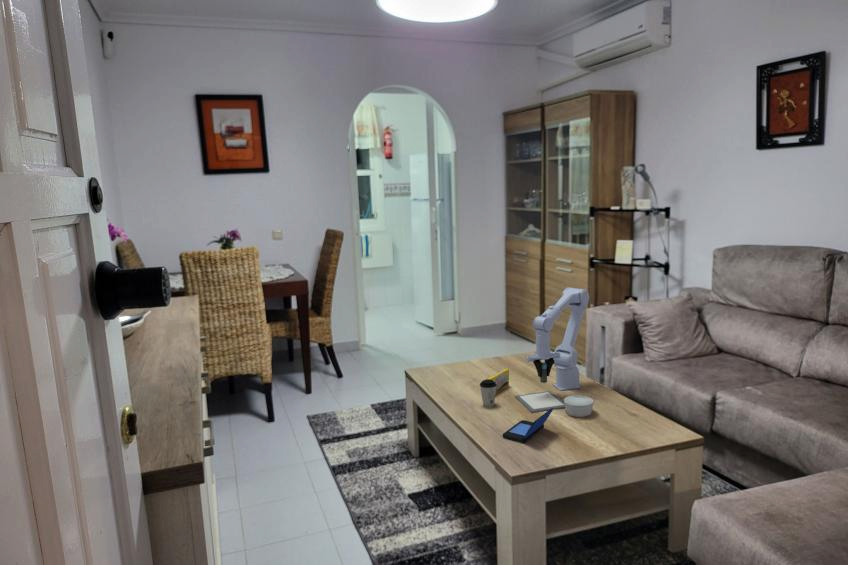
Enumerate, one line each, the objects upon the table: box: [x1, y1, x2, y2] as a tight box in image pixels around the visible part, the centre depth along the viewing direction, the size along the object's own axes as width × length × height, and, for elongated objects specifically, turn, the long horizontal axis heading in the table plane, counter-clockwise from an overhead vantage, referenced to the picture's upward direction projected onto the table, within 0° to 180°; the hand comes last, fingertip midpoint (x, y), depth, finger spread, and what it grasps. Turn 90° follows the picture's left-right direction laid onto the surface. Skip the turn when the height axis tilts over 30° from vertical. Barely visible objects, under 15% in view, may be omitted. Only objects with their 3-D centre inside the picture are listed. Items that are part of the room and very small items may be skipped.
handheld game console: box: [502, 408, 554, 444], centre depth 207 cm, size 16×13×9 cm
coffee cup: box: [479, 378, 496, 408], centre depth 236 cm, size 7×7×10 cm
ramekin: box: [563, 394, 594, 418], centre depth 224 cm, size 11×11×5 cm
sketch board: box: [514, 390, 565, 414], centre depth 237 cm, size 16×18×1 cm
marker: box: [539, 361, 548, 384], centre depth 242 cm, size 3×3×8 cm
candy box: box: [487, 368, 510, 395], centre depth 251 cm, size 16×2×8 cm, turn 143°
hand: (543, 376), depth 242 cm, fingers closed on marker, 3 cm apart
